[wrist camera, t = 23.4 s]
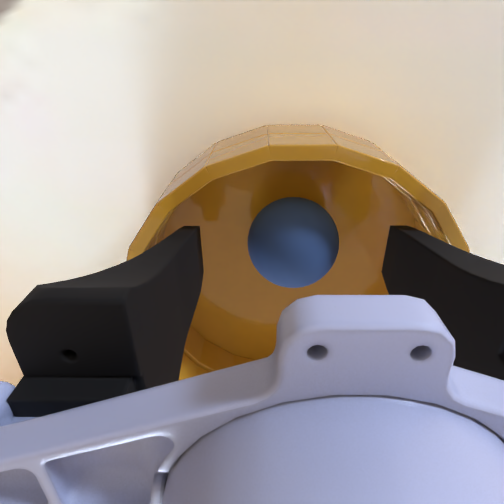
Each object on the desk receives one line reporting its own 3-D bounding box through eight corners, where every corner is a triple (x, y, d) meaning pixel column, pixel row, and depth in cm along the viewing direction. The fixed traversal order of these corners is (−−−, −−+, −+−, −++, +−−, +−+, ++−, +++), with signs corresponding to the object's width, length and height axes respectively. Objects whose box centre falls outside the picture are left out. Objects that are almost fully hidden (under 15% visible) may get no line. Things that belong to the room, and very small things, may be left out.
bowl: (460, 121, 15) (524, 143, 11) (399, 365, 21) (427, 429, 17) (128, 123, 15) (87, 146, 11) (167, 363, 21) (149, 425, 18)
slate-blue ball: (334, 184, 15) (353, 219, 12) (327, 259, 17) (342, 306, 14) (248, 184, 15) (245, 219, 12) (249, 259, 17) (246, 306, 14)
